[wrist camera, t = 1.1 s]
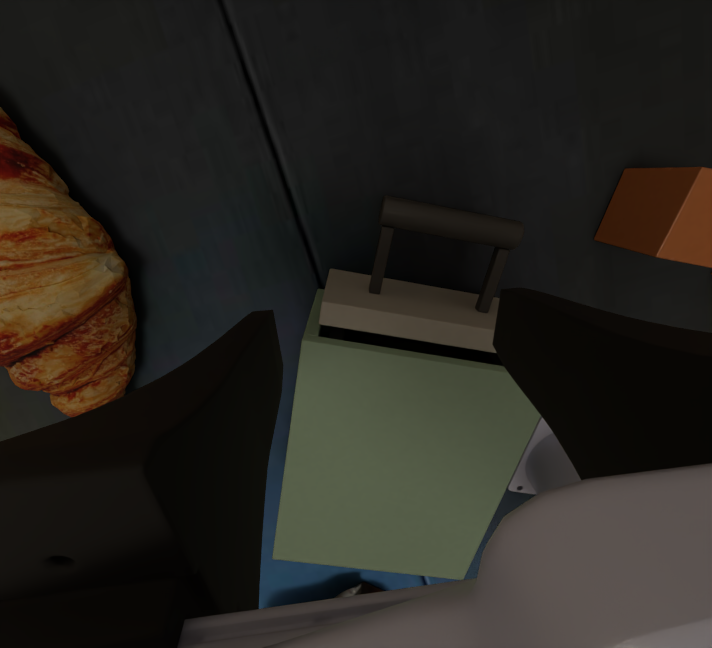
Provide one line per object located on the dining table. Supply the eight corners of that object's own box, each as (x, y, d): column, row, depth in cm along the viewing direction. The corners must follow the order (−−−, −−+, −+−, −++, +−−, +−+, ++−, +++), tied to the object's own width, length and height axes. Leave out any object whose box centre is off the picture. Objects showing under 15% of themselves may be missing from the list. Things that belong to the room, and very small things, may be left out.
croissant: (-12, 100, 22) (-247, 79, 15) (67, 49, 17) (-227, -12, 11) (121, 390, 30) (2, 456, 23) (201, 411, 25) (77, 501, 18)
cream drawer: (342, 184, 20) (339, 188, 14) (529, 221, 21) (595, 239, 15) (301, 446, 27) (288, 518, 22) (440, 465, 28) (462, 539, 23)
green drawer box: (317, 287, 23) (301, 339, 16) (496, 318, 24) (558, 380, 17) (292, 463, 29) (272, 559, 22) (436, 482, 30) (463, 580, 23)
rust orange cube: (690, 182, 21) (785, 184, 16) (654, 251, 22) (731, 272, 18) (624, 168, 21) (702, 166, 16) (592, 239, 22) (655, 257, 18)
